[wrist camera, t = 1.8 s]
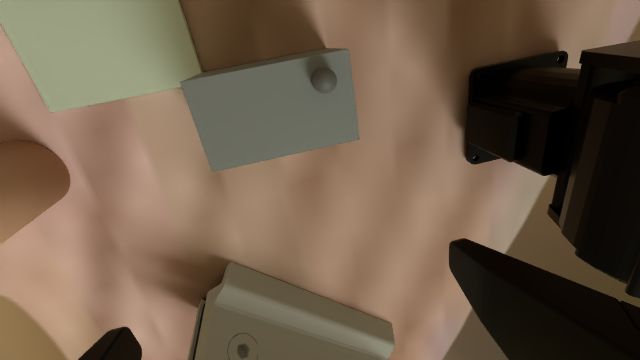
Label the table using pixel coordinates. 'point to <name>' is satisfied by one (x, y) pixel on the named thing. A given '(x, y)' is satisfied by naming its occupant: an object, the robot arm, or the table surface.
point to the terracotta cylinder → (28, 184)
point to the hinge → (282, 323)
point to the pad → (100, 48)
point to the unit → (273, 107)
